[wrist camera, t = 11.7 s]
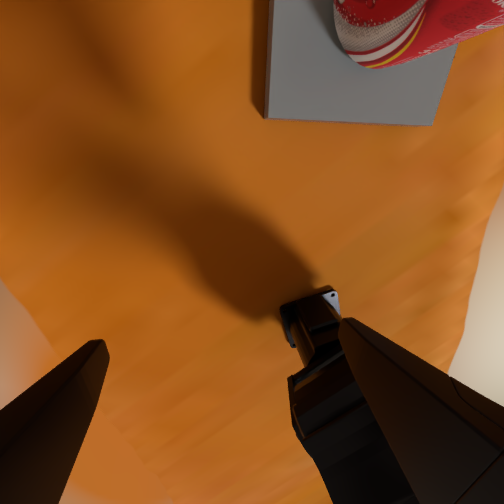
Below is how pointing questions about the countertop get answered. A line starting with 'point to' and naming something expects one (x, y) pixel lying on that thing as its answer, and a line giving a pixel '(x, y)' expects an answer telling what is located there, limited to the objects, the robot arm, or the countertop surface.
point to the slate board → (342, 74)
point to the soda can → (409, 27)
